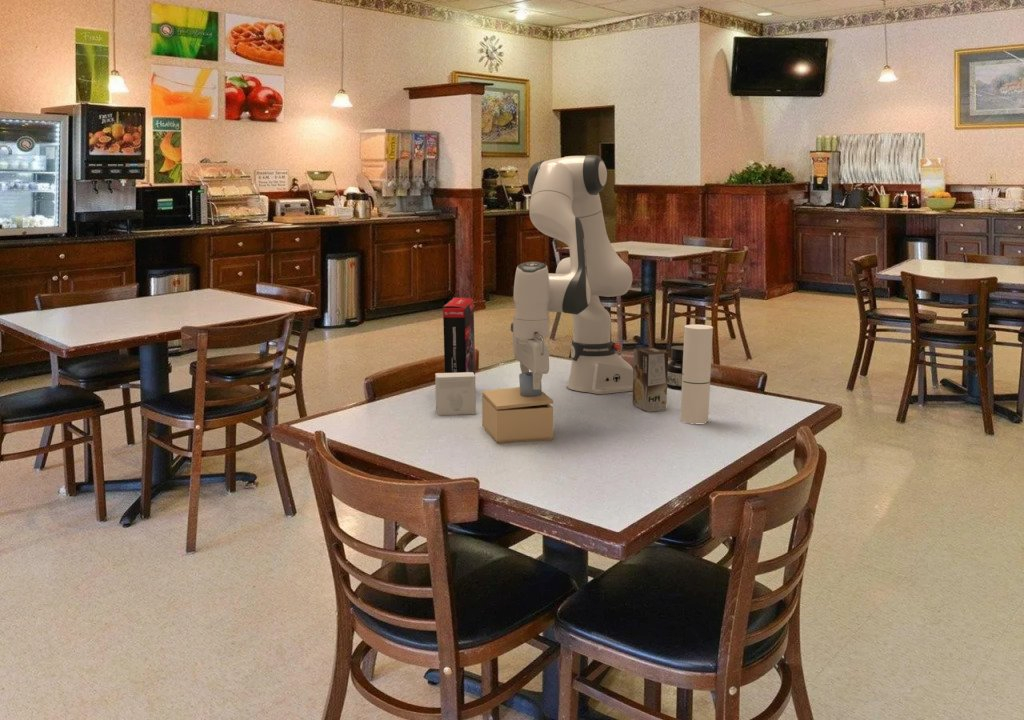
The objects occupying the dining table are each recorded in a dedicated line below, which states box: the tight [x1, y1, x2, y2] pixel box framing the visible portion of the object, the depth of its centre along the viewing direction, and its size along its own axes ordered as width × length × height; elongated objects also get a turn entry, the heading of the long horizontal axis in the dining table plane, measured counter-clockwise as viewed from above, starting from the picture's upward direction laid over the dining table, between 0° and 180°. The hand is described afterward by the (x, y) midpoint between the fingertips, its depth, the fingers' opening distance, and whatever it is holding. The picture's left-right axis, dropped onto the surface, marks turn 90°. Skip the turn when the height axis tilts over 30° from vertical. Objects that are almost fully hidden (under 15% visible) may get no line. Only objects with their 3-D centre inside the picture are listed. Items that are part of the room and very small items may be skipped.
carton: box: [481, 394, 554, 444], centre depth 232 cm, size 14×16×8 cm
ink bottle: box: [667, 345, 684, 390], centre depth 282 cm, size 10×9×12 cm
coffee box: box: [631, 346, 669, 413], centre depth 257 cm, size 9×6×16 cm
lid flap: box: [481, 386, 554, 410], centre depth 231 cm, size 14×16×1 cm
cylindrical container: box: [679, 323, 714, 425], centre depth 242 cm, size 7×7×25 cm
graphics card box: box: [442, 297, 476, 376], centre depth 269 cm, size 17×7×27 cm, turn 174°
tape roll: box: [518, 371, 543, 397], centre depth 231 cm, size 5×5×5 cm
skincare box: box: [434, 372, 477, 416], centre depth 251 cm, size 10×6×10 cm, turn 98°
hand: (530, 384), depth 231 cm, fingers open, 8 cm apart
